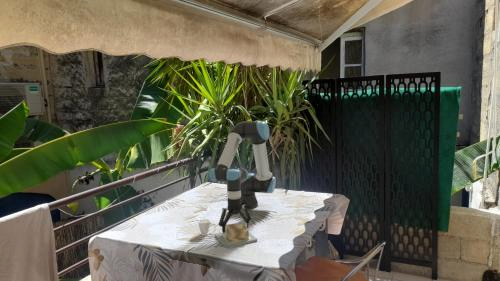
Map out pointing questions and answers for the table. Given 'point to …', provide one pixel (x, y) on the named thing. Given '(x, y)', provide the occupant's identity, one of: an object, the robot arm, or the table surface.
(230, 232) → the oak block
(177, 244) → the table surface
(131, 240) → the table surface
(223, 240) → the build board
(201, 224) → the cup
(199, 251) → the table surface
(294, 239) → the table surface
